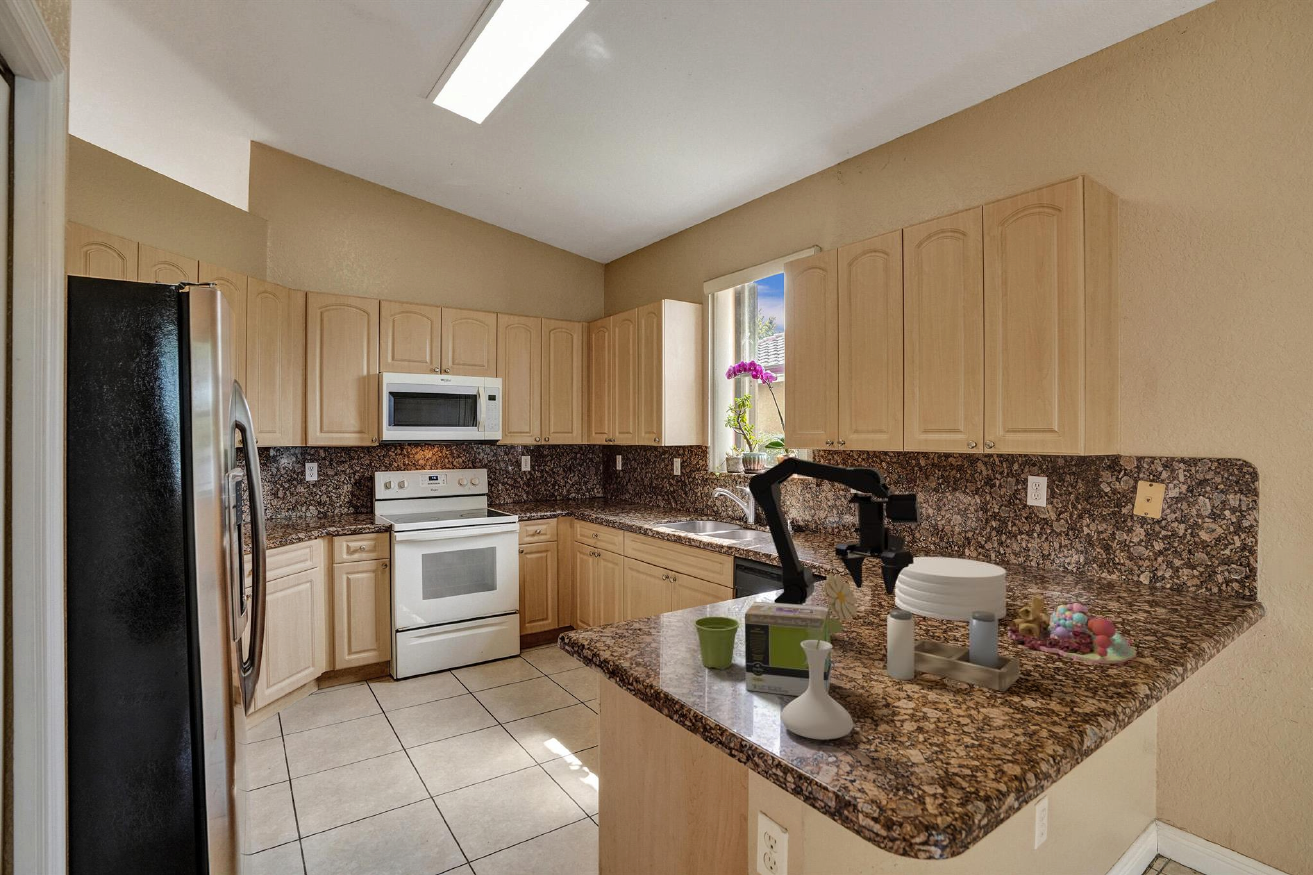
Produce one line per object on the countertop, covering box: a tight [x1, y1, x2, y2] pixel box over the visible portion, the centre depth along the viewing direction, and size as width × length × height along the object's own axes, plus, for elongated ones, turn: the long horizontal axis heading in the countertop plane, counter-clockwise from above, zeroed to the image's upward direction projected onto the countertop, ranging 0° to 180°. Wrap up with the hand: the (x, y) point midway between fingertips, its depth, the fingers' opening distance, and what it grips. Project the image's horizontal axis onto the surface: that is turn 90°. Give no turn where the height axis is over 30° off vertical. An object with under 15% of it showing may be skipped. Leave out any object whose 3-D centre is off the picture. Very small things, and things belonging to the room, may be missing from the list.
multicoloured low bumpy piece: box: [1007, 595, 1138, 665], centre depth 147 cm, size 25×24×9 cm
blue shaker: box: [968, 611, 999, 670], centre depth 126 cm, size 5×5×12 cm
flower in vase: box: [779, 572, 858, 740], centre depth 104 cm, size 13×11×25 cm
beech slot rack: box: [914, 638, 1020, 693], centre depth 129 cm, size 19×10×4 cm, turn 46°
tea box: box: [744, 601, 832, 697], centre depth 122 cm, size 15×10×15 cm
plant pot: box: [693, 616, 740, 670], centre depth 134 cm, size 9×9×9 cm
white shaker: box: [886, 608, 915, 681], centre depth 127 cm, size 5×5×12 cm
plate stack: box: [894, 556, 1007, 622], centre depth 179 cm, size 28×28×12 cm
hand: (874, 591), depth 147 cm, fingers open, 9 cm apart
